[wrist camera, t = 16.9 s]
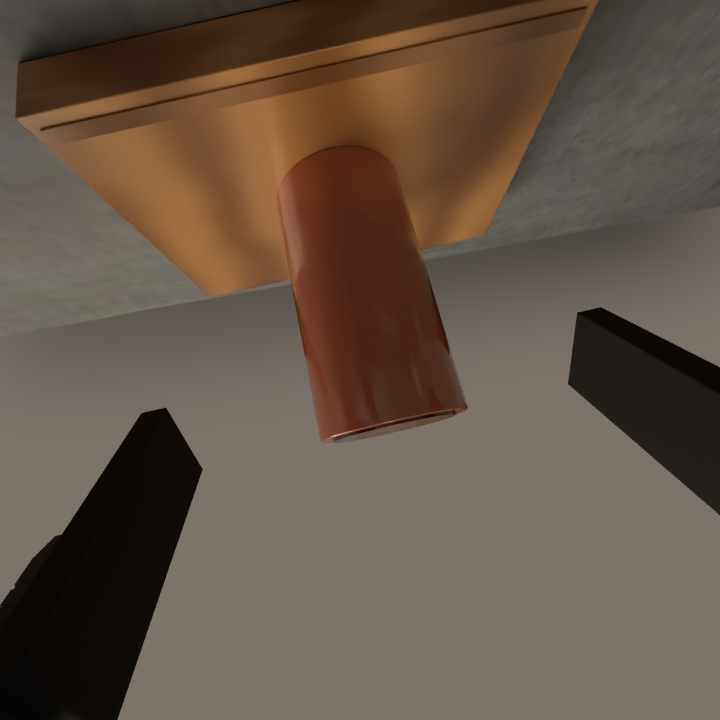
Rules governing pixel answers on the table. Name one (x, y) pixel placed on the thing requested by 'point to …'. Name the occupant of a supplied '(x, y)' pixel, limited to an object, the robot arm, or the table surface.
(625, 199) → the table surface
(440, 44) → the oak board
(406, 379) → the pen cup
